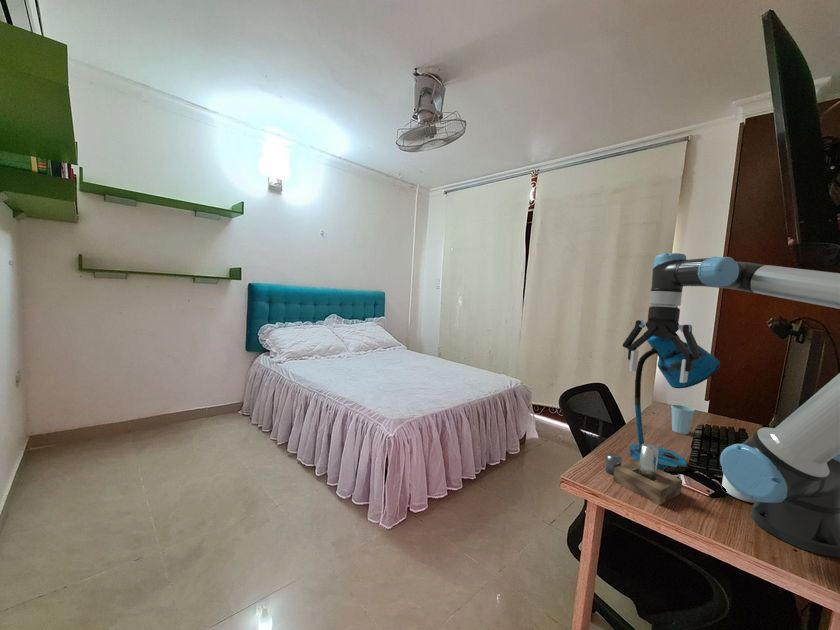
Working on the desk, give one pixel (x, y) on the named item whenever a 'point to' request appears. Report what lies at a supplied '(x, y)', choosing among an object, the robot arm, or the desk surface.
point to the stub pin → (612, 462)
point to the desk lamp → (671, 370)
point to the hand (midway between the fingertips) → (656, 376)
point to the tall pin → (648, 461)
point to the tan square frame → (648, 483)
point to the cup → (681, 418)
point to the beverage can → (734, 491)
